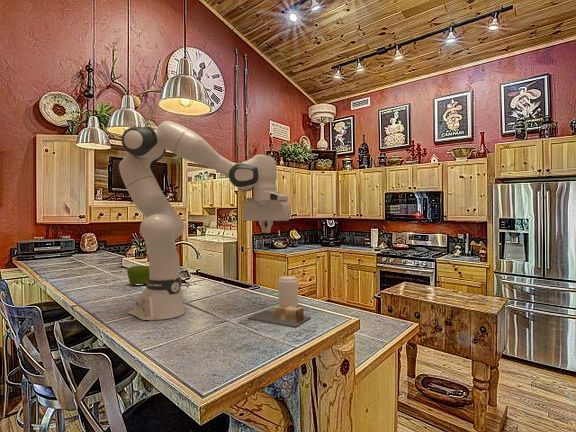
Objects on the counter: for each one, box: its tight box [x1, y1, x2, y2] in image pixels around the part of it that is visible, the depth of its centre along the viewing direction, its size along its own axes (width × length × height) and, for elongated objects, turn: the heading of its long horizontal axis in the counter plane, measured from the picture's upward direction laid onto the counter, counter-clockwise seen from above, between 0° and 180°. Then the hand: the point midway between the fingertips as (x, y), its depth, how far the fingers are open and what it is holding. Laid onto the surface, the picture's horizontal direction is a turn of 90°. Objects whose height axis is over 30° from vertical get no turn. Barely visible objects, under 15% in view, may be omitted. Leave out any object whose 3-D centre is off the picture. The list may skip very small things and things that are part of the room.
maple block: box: [273, 304, 305, 323], centre depth 121 cm, size 4×4×10 cm
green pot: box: [126, 265, 149, 285], centre depth 188 cm, size 12×12×11 cm
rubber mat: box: [247, 309, 311, 329], centre depth 123 cm, size 20×11×1 cm, turn 59°
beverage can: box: [277, 275, 299, 307], centre depth 139 cm, size 8×8×12 cm
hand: (266, 232), depth 130 cm, fingers closed
